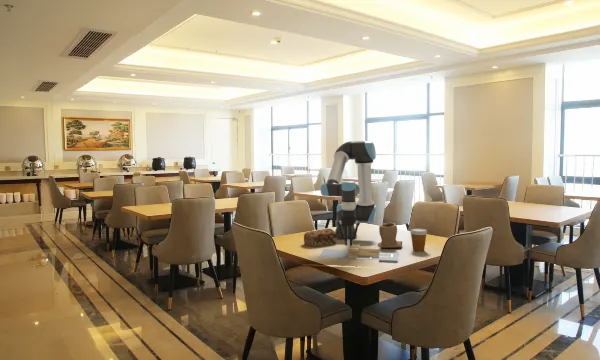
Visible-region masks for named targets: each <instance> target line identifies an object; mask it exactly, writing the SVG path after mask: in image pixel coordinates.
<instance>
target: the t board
mask: <svg viewBox="0 0 600 360" xmlns="http://www.w3.org/2000/svg"><path fill="white" fill-rule="evenodd" d="M398 255H399V254H398V251H392V250H388V251H386V250H385V251H384V250H379V256H358V258H348V252H347V249H338V248H337V249H335V248H324V249H323V250H322V252H320V254H319V256H318V258H322V259H324V258H325V259H326V258H327V259H328V258H329V259H347V260H348V259H349V260H369V261H371V260H373V261H374V260H375V261H378V263H380V262H381V263H398V261H399V259H398V257H399V256H398Z"/></svg>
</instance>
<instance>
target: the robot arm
mask: <svg viewBox="0 0 600 360" xmlns="http://www.w3.org/2000/svg"><path fill="white" fill-rule="evenodd" d="M376 155H377V154H376V147H375V144H374V142H372V141H371V140H370V141H369V140H355V141H353V140H352V141H347V142H344V143H342V144H341V145H340V146H338V148H337V149H336V150H335V151H334V154H333V162H332V166H331V169H330V173H329V175H328V178H327V180H326V182H323V183H322V184H321V185H320V194H321V196H322V197H340V198H341V203H339V204H337V206H336V228H335V230H334V232H335V233H336V234H337V240H344V245H345V247H346V250H347V252H348V250H349V248H350V246H352V244H353V240H355V239H357V237H358V235H357V233H358V230H359V229H358V228H359V226H360V224H361V223H363V224H364V223H365V224H373V223H374V222H375V221H376V219H377V215H378V214H377V213H378V206H377V205H376V204H375V202H374V200H373V198H372V197H373V195H372V194H373V192H372V191H373V189H372V188H373V187H372V164H373V163H374V160H375V159H376V157H377V156H376ZM350 160H354V163H355V164H356V165H357V182H358V183H356V182H355V181H349V180H346V181H344V180H343V182H342V183H341V180H342V177H343V173H344V170H345V167H346V164H347V163H348V162H349V161H350ZM357 196H358V201H357V202H356V197H357Z"/></svg>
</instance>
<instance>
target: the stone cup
mask: <svg viewBox="0 0 600 360" xmlns="http://www.w3.org/2000/svg"><path fill="white" fill-rule="evenodd" d="M378 230H379V231H378V233H379V236H380V239H381V242H378V243H377V247H379V248H383V249H384V248H385V249H387V248H388V249H393V248H394V249H396V248H400V249H401V248H402V246H403V241H402V240H397V233H398V226H397V225H396V223H395V222H385V223H383V222H382V223H381V224H380V225H379V227H378Z"/></svg>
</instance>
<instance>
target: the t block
mask: <svg viewBox="0 0 600 360" xmlns="http://www.w3.org/2000/svg"><path fill="white" fill-rule="evenodd" d="M379 251H380V247H379V246H361V243H359V244H358V243H352V246H350V248H349V250H348V258H358V256H379Z"/></svg>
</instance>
